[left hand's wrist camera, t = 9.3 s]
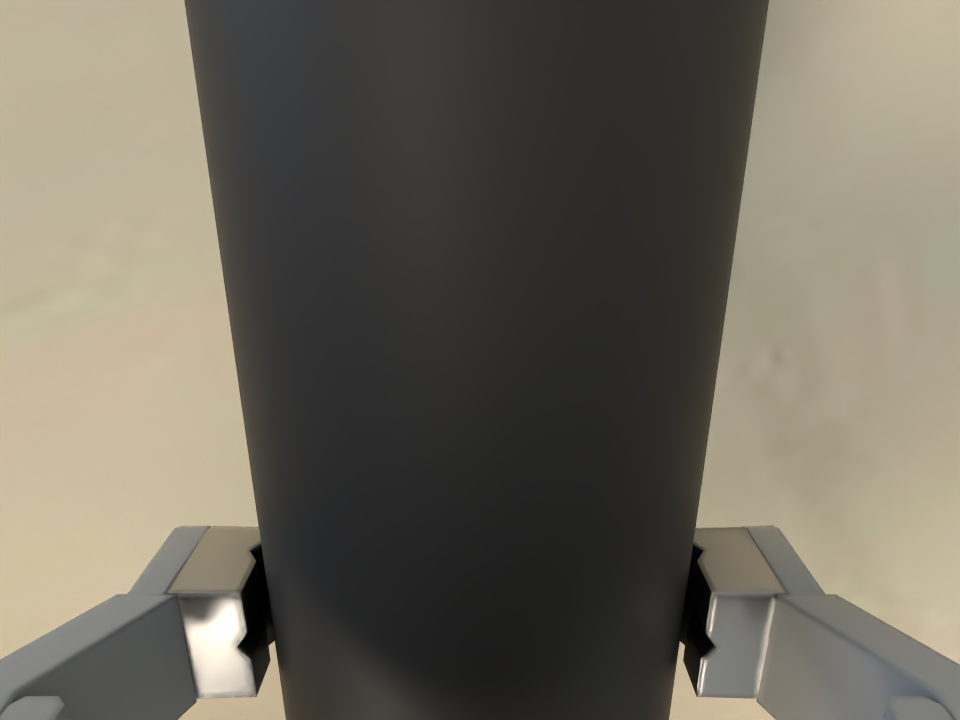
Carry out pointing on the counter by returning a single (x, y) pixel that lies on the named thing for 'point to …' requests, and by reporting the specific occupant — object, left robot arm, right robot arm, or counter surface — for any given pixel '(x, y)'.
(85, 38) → the counter surface
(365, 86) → the rod
